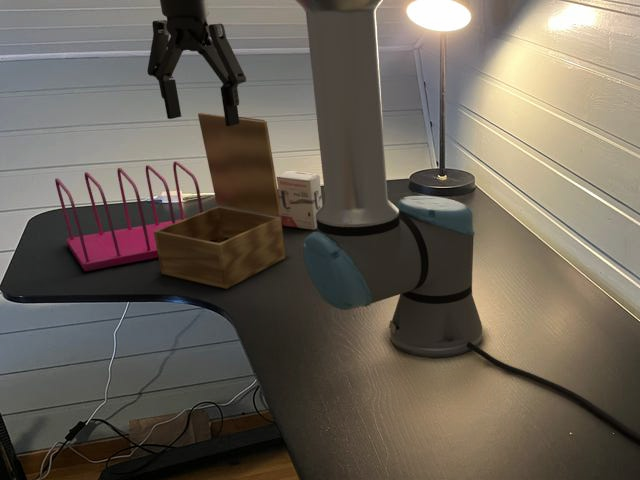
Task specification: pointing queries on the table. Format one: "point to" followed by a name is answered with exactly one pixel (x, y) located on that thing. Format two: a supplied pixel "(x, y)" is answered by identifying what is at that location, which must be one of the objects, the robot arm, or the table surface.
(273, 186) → the chest lid
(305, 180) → the ink box
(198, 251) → the chest
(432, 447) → the table surface
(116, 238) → the file sorter
